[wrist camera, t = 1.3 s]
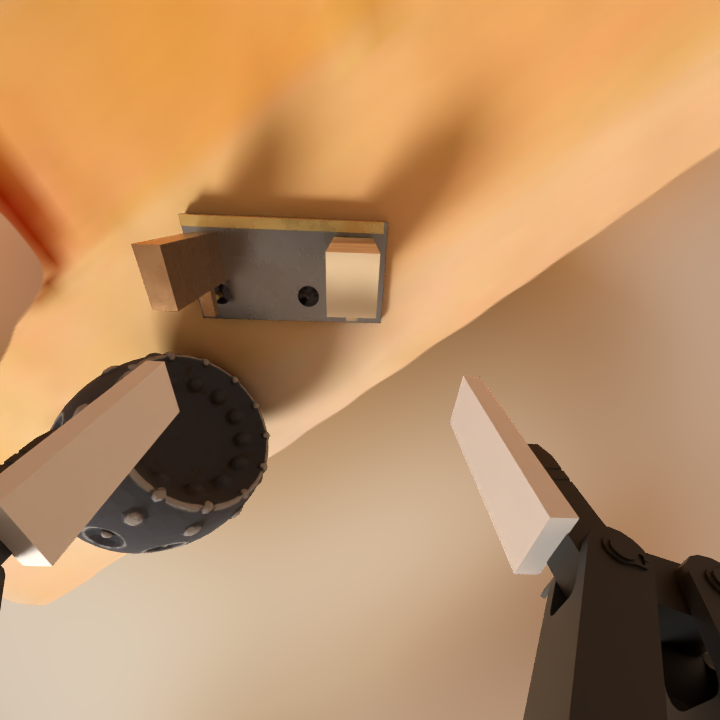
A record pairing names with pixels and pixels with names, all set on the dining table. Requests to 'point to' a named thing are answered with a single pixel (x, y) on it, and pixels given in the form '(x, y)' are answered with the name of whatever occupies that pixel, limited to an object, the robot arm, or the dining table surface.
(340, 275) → the block
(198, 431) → the dark studded bowl
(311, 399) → the dining table surface
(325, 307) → the grey board with posts
